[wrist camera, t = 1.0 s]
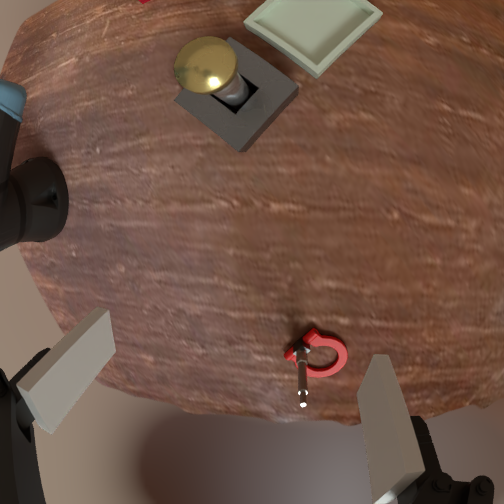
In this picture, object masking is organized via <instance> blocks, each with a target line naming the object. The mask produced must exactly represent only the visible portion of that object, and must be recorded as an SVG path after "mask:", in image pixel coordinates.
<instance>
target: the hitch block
mask: <svg viewBox="0 0 504 504" xmlns="http://www.w3.org/2000/svg"><path fill="white" fill-rule="evenodd" d="M226 42H227V43H228V44H229V45H230V46H231V47H232V49H233V50H234V52H235V54H236V56H237V58H238V71H237V72H238V73H239V75H240V76H241V77H242V79H243V80H244V81H245V82H246V83H247V84H248V85H250V86H251V87H252V88H254V89H255V90H256V92H255V93H254V95H253V96H252V97H251V98H250V99H249V100H248V101H247V102H246V103H245V105H244V106H243V107H242V108H241V109H240V110H239V111H238V112H237V114H236V113H234V112H233V111H232V110H231V109H229V108H228V107H227V106H225V105H224V104H223V103H221V102H220V100H221V99H220V98H218V97H217V96H215V95H214V94H210V95H201V94H196V93H194V92H191V91H190V90H188V89H186V88H183V90H182V91H181V92H180V93H179V95H178V96H177V97H176V98H175V100H174V101H175V102H177V103H178V104H179V105H180V106H182V107H183V108H184V109H186V110H187V111H188V112H190V113H191V114H192V115H193V116H195V117H196V118H197V119H199V120H200V121H201V122H202V123H204V124H205V125H206V126H207V127H209V128H210V129H211V130H212V131H214V132H215V133H216V134H217V135H218V136H220V137H221V138H222V139H223V140H225V141H226V142H227V143H228V144H229V145H231V146H232V147H233V148H234V149H235V150H237V151H238V152H246V151H247V150H248V149H249V148H250V147H251V146H252V144H253V143H254V142H255V141H256V140H257V139H258V138H259V137H260V135H261V134H262V133H263V132H264V131H265V130H266V129H267V128H268V127H269V125H270V124H271V123H272V122H273V121H274V120H275V119H276V118H277V117H278V116H279V115H280V113H281V112H282V111H283V110H284V109H285V108H286V107H287V106H288V105H289V104H290V103H291V102H292V101H293V100H294V98H295V97H296V96H297V95H298V88H299V86H298V85H297V84H296V83H294V82H293V81H292V80H291V79H289V78H288V77H287V76H285V75H284V74H283V73H281V72H280V71H279V70H277V69H276V68H275V67H273V66H272V65H271V64H269V63H268V62H267V61H265V60H264V59H262V58H261V57H259V56H258V55H257V54H255V53H254V52H252V51H251V50H249V49H248V48H246V47H245V46H243V45H242V44H240V43H239V42H237V41H236V40H234V39H232V38H231V37H229V38H228V39H227V40H226Z"/></svg>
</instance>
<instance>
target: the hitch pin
mask: <svg viewBox="0 0 504 504" xmlns="http://www.w3.org/2000/svg"><path fill="white" fill-rule="evenodd" d="M237 71H238V58H237V56H236V54H235V52H234V50H233V49H232V47H231V46H230V45H229V44H228V43H227V42H226V41H224V40H222V39H220V38H217V37H212V36H206V37H200V38H197V39H194V40H193V41H191V42H189V43H188V44H186V45H185V46H184V47H183V48H182V49H181V50H180V52H179V53H178V55H177V57H176V60H175V64H174V73H175V77H176V79H177V81H178V82H179V83H180V84H181V85H182V86H183V87H184V88H186V89H188V90H190V91H191V92H194V93H196V94H201V95H210V94H214V95H215V96H217V97H218V98H220V99H221V100H223V101H224V102H226V103H227V104H229V105H230V106H231V107H233V108H234V109H236V110H240V109H241V108H242V107H243V106H244V105H245V103H246V102H247V101H248V100H249V99H250V98H251V97H252V96H253V95H254V94H253V92H252V91H251V89H250V88H249V87H248V85H247V84H246V83H245V81H244V80H243V79H242V77H241V76H240V75H239V73H238V72H237Z"/></svg>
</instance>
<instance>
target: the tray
mask: <svg viewBox="0 0 504 504" xmlns="http://www.w3.org/2000/svg"><path fill="white" fill-rule="evenodd" d="M382 14H383V12H381V11H380V10H379V9H377V8H376V7H375V6H374V5H372V4H371V3H370V2H368V1H367V0H266V1H265V2H264V3H263V4H262V5H261V6H260V7H258V8H257V9H256V10H255V11H254V12H253V13H252V14H251V15H250V16H249V17H248V18H247V19H246V20H245V21H243V22H244V25H245V27H246V29H247V30H249V31H251V32H252V33H254V34H255V35H257V36H258V37H260V38H261V39H263V40H264V41H266V42H267V43H269V44H270V45H272V46H273V47H275V48H276V49H277V50H279V51H280V52H282V53H283V54H284V55H286V56H287V57H289V58H290V59H291V60H293V61H294V62H295V63H297V64H298V65H299V66H301V67H302V68H303V69H304V70H306V71H307V72H308V73H310V74H311V75H312V76H313V77H315V78H316V79H317V78H318V77H319V76H320V75H321V74H322V73H323V72H324V71H325V70H326V69H327V68H328V67H329V66H330V65H331V64H332V63H333V62H334V61H335V60H336V59H337V58H338V57H339V56H340V55H341V54H343V53H344V52H345V51H346V50H347V49H348V48H349V47H350V46H351V45H352V44H353V43H354V42H355V41H356V40H357V39H358V38H359V37H361V36H362V35H363V34H364V33H365V32H366V31H367V30H368V29H369V28H370V27H371V26H373V25H374V24H375V23H376V22H377V21H378V20H379V19H380V17H381V16H382Z"/></svg>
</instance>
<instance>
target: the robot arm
mask: <svg viewBox="0 0 504 504" xmlns="http://www.w3.org/2000/svg"><path fill="white" fill-rule="evenodd" d="M26 99H27V93H26V90H25V88H24V87H23V86H21V85H19V84H16V83H13V82H9V81H6V80H3V79H0V251H2V250H4V249H5V248H8V247H10V246H12V245H14V244H16V243H19V242H30V241H34V242H45V241H47V240H50V239H52V238H54V237H56V236H57V235H58V234H59V233H60V232H61V231H62V229H63V227H64V225H65V223H66V219H67V215H68V206H69V200H68V191H67V186H66V182H65V179H64V177H63V174H62V172H61V171H60V169H59V167H58V166H57V165H56V164H55V163H54V162H53V161H52V160H50V159H49V158H46V157H37V158H31V159H28V160H26V161H24V162H23V163H22V164H21V165H19V166H17V167H15V168H13V169H12V170H11V164H12V159H13V154H14V149H15V145H16V140H17V136H18V132H19V128H20V124H21V122H22V120H23V119H22V115H23V111H24V106H25V103H26ZM115 352H116V349H115V344H114V339H113V333H112V327H111V321H110V314H109V310H108V309H104V308H101V307H96V308H95V309H94V310H93V311H92V312H90V313H89V314H88V315H87V316H86V317H85V318H84V319H83V320H82V321H81V322H79V323H78V324H77V325H76V326H75V327H74V328H73V329H72V330H71V331H70V332H69V333H68V334H67V335H66V336H64V337H63V338H62V339H61V341H59V342H58V343H57V344H56V345H55V346H54V347H53V348H52V349H50V348H46V349H44V350H42V351H40V352H38V353H37V354H36V355H35V356H34V357H33V358H32V360H30V361H29V362H28V363H27V365H25V366H24V367H23V368H22V369H21V370H20V371H19V372H18V373H17V374H16V375H15V376H14V377H13V378H12V379H11V380H10V381H8V379H7V378H6V375H5V373H4V371H3V370H2V369H1V368H0V504H46V502H45V498H44V493H43V489H42V484H41V478H40V473H39V467H38V461H37V454H36V446H35V437H34V428H33V424H32V422H33V421H34V420H36V422H37V424H38V425H39V427H40V428H42V429H43V430H45V431H47V432H48V433H50V434H53V432H54V431H55V430H56V428H57V427H58V426H59V424H60V423H61V422H62V420H63V419H64V417H65V416H66V415H67V413H68V412H69V411H70V410H71V408H72V407H73V406H74V404H75V403H76V402H77V400H78V399H79V398H80V396H81V395H82V394H83V392H84V391H85V390H86V389H87V387H88V386H89V385H90V383H91V382H92V381H93V379H94V378H95V377H96V376H97V374H98V373H99V372H100V371H101V369H102V368H103V367H104V366H105V364H106V363H107V362H108V361H109V359H110V358H111V357H112V356H113V354H114V353H115ZM357 399H358V404H359V410H360V415H361V421H362V427H363V433H364V440H365V446H366V453H367V460H368V468H369V475H370V484H371V493H372V502H373V504H383V503H390V502H391V501H393V500H394V499H395V498H396V497H397V500H398V504H493V497H494V484H493V482H492V480H491V479H490V478H489V477H487V476H478V477H476V478H474V479H473V480H472V481H471V482H461V481H454V480H452V478H451V476H449V475H448V474H447V473H444V472H442V470H441V468H440V464H439V461H438V458H437V455H436V452H435V448H434V445H433V443H432V439H431V436H430V435H429V434H430V433H429V430H428V427H427V424H426V423H425V422H424V420H423V419H422V418H421V417H420V416H409V413H408V409H407V406H406V403H405V400H404V397H403V395H402V392H401V389H400V386H399V383H398V380H397V377H396V375H395V372H394V369H393V366H392V364H391V361H390V358H389V356H388V355H380V354H374V355H373V358H372V360H371V363H370V365H369V367H368V370H367V372H366V374H365V377H364V379H363V381H362V383H361V386H360V388H359V390H358V392H357Z"/></svg>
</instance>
